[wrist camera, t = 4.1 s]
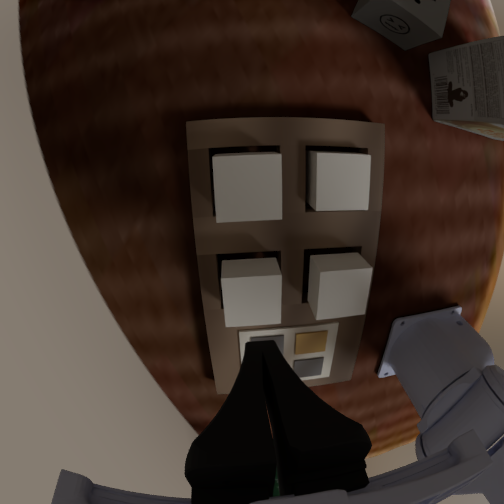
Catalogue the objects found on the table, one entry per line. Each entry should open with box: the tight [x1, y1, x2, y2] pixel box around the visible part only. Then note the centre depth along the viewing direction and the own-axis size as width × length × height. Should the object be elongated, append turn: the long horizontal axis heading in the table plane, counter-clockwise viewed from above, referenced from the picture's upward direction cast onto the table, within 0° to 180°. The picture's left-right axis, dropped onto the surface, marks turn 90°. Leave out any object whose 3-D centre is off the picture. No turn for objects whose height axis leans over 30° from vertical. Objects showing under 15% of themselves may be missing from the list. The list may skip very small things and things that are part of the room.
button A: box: [308, 252, 373, 320], centre depth 19 cm, size 4×4×3 cm
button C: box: [306, 151, 371, 211], centre depth 18 cm, size 4×4×3 cm
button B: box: [221, 257, 282, 327], centre depth 19 cm, size 4×4×3 cm
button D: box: [212, 152, 282, 223], centre depth 16 cm, size 4×4×3 cm
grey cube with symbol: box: [351, 0, 451, 51], centre depth 12 cm, size 5×5×5 cm
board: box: [186, 117, 385, 394], centre depth 21 cm, size 13×23×2 cm, turn 2°
